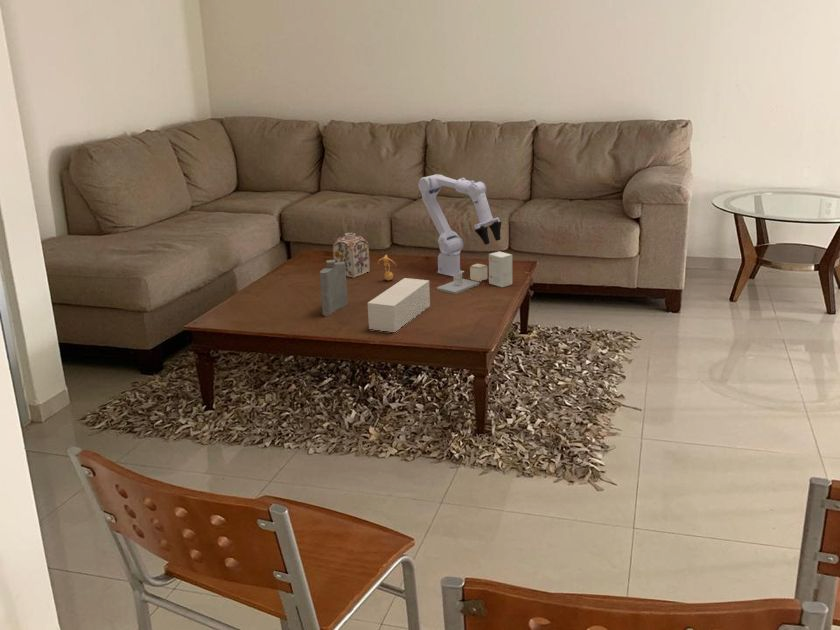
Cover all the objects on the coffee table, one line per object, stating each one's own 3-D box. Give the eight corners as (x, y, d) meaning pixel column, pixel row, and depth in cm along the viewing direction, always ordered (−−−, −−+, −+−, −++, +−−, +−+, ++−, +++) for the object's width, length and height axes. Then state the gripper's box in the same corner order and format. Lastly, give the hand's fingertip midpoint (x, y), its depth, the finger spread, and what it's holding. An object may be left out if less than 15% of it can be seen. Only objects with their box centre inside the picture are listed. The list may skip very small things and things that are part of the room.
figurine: (399, 279, 383) (398, 252, 379) (394, 283, 378) (393, 256, 374) (381, 278, 385) (380, 251, 381) (376, 282, 380) (375, 255, 376)
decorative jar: (350, 268, 402) (348, 229, 396) (370, 271, 395) (368, 232, 389) (333, 274, 393) (330, 235, 387) (353, 278, 386) (351, 238, 380)
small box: (512, 284, 372) (512, 254, 367) (501, 287, 368) (501, 257, 363) (499, 280, 377) (499, 250, 373) (488, 283, 374) (488, 253, 369)
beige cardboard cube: (470, 279, 380) (470, 266, 378) (477, 276, 383) (477, 263, 381) (479, 281, 376) (479, 268, 374) (487, 278, 380) (487, 265, 378)
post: (453, 285, 370) (453, 273, 368) (457, 283, 372) (457, 272, 370) (458, 286, 368) (458, 274, 366) (462, 284, 370) (462, 273, 368)
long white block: (405, 303, 353) (404, 277, 349) (430, 306, 349) (429, 280, 345) (369, 330, 325) (367, 302, 322) (395, 333, 321) (393, 305, 318)
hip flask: (328, 316, 340) (324, 266, 334) (319, 315, 342) (315, 265, 335) (349, 304, 354) (346, 256, 347) (340, 303, 355) (337, 255, 349)
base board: (436, 289, 368) (436, 287, 367) (460, 280, 379) (460, 278, 379) (455, 294, 361) (455, 291, 361) (479, 284, 373) (479, 282, 372)
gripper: (479, 211, 360) (489, 243, 361) (500, 205, 370) (510, 236, 371) (467, 215, 365) (476, 247, 366) (488, 209, 375) (497, 240, 377)
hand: (492, 242), depth 369 cm, fingers open, 7 cm apart
